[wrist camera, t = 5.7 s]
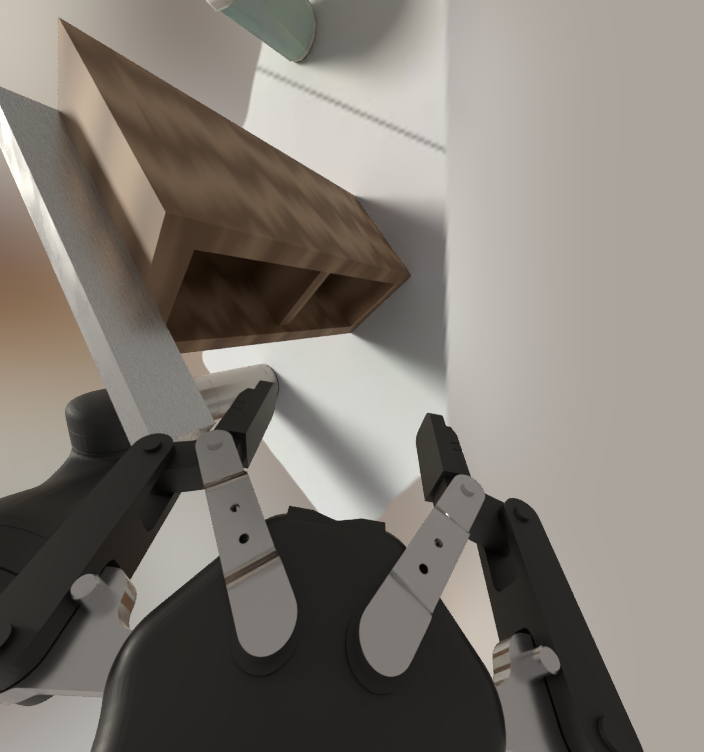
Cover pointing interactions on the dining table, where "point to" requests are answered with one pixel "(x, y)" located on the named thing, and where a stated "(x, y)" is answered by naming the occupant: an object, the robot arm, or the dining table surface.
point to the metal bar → (100, 277)
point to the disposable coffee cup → (275, 23)
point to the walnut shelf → (218, 211)
